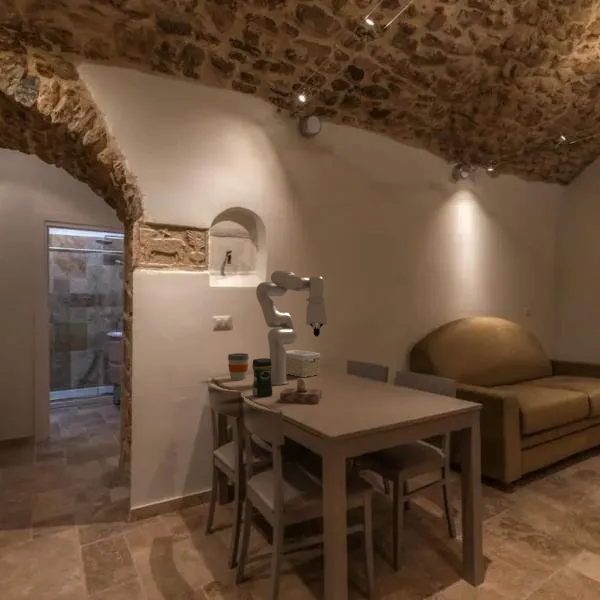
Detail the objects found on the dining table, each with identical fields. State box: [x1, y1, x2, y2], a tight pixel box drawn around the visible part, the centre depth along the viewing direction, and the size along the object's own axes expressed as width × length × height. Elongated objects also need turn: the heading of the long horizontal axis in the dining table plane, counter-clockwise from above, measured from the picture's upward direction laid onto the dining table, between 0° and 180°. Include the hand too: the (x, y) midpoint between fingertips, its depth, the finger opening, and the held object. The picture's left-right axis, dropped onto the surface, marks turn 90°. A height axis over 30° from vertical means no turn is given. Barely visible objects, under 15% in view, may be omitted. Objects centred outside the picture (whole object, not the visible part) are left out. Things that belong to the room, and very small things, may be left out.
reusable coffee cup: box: [227, 352, 250, 381], centre depth 262 cm, size 13×13×15 cm
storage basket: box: [285, 349, 321, 378], centre depth 278 cm, size 24×16×15 cm
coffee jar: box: [251, 357, 273, 398], centre depth 216 cm, size 10×8×19 cm
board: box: [279, 387, 323, 404], centre depth 206 cm, size 18×12×4 cm, turn 79°
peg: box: [296, 377, 306, 393], centre depth 206 cm, size 4×4×10 cm
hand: (316, 336), depth 222 cm, fingers closed
